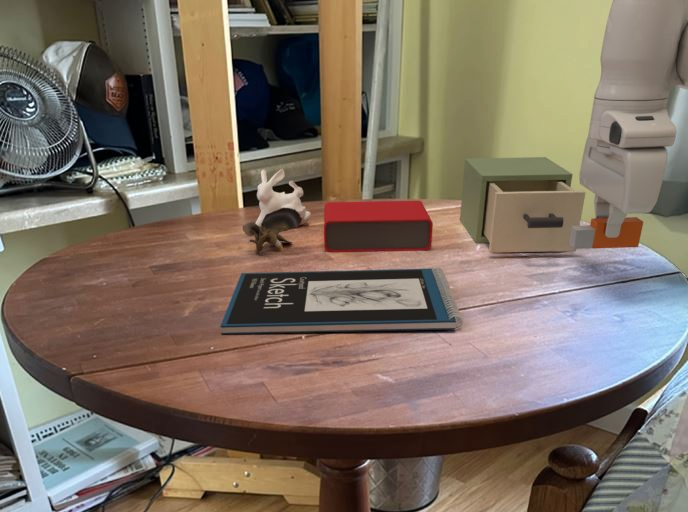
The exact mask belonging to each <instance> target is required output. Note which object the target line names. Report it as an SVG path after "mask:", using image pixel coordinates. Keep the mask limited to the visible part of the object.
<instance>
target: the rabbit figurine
mask: <svg viewBox="0 0 688 512" xmlns="http://www.w3.org/2000/svg"><path fill="white" fill-rule="evenodd" d="M260 171H261V172H260V178H261V183H259V184H258V185H257V192H256V198H257V200H258V201H259V203H258V207H259V209H260V213H259V215H258V218H257V219H256V221H255V222H254V223H255V224H257V225H258V226H260V227H261V225H262V224H261V223H262V221H263V219H264V217H265V215H266V214H268V213H272V212H273V211H276V210H279V209H281V208H284V207H285V208H290V209H295V210H296V211H297V212H298V213H299V214H300V217H301V218H302V220H301V223H300V224H299V225H300V226H303V225H304V224H306V223H308V222H309V221H310V219H311V216H312V213H311V212H310V211H309V210H307V208H306V206H305V205H303V204H302V200H301V197H303V196H304V190H303V188H302V187H301V186H298V185H297V184H296V183H295V182H294V181H293V180H290V181H289V182H288V185H289V186H290V187H292V188H293V191H292V192H291V193H286V191H282V192H277V191H274V190H273V186H274V185H276V184H277V183H279V182H280V181H282V180H283V179H284V178H285V175H286V174H285V170H284V169H283V168H281V169H279V170H278V171H277V172H275V173H274V174H273V175H272V176H271V178H270V179H269V180H268V177H267V174H268V172H267V170H266V169H262V170H260Z"/></svg>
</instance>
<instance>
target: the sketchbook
mask: <svg viewBox="0 0 688 512" xmlns="http://www.w3.org/2000/svg"><path fill="white" fill-rule="evenodd" d="M463 324H464V319H463V317H462V314H461V312H460V310H459V307H458V305H457V302H456V299H455V297H454V294H453V292H452V290H451V287H450V285H449V281H448V280H447V277H446V275H445V273H444V270H443V269H442V268H441V267H438V266H435V267H433V268H431V267H430V268H399V269H395V268H394V269H393V268H392V269H357V270H354V269H353V270H351V269H349V270H313V271H311V270H310V271H277V272H275V271H274V272H273V271H271V272H270V271H269V272H241V273H240V276H239V279H238V281H237V283H236V286H235V288H234V290H233V293H232V296H231V298H230V301H229V304H228V306H227V308H226V311H225V314H224V316H223V319H222V321H221V323H220V326H219V327H220V333H221V335H248V334H249V335H251V334H253V335H254V334H258V335H259V334H296V333H297V334H298V333H299V334H303V333H305V334H306V333H342V332H345V333H347V332H350V333H351V332H387V331H389V332H390V331H391V332H392V331H433V330H435V331H437V330H441V331H443V330H454V331H455V330H459V329H460V328H461V327H463Z"/></svg>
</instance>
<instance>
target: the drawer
mask: <svg viewBox="0 0 688 512" xmlns="http://www.w3.org/2000/svg"><path fill="white" fill-rule="evenodd" d="M586 193H587V192H586V191H585V190H575V188H572V186H571V187H569V186H568V185H566V184H565V183H563V182H562V181H561V180H532V181H487V185H486V195H485V205H484V215H483V225H482V232H483V234H484V235H485V236H486V238H487V239H488V241H489V242H490V243H489V245H488V247H489V248H488V251H489V253H535V252H536V253H537V252H542V253H543V252H545V253H547V252H575V251H576V250H577V249H573V248H572V247H571V246H570V245H569V241H570V235H571V228H572V226H581V221H582V215H583V210H584V203H585V199H586Z"/></svg>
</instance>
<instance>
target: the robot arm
mask: <svg viewBox="0 0 688 512" xmlns="http://www.w3.org/2000/svg"><path fill="white" fill-rule="evenodd" d="M602 39H603V40H602V46H601V51H600V58H599V59H600V60H599V61H600V78H599V81H598V85H597V87H596V90H595V92H594V95H593V102H592V108H591V114H590V120H589V128H588V133H587V137H586V139H585V140H586V141H585V144H584V149H583V154H582V158H581V163H580V169H579V176H578V177H579V184H580V185H581V186H582V187H583V188H585V189H587V190H588V191H590V192H592V194H594V199H593V207H594V216H595V217H594V219H595V218H608V221H607V222H605V224H604V230H603V234H604V235H605V236H607V237H608V238H615V237H618V236H619V234H620V229H621V224H622V223H623V221H624V219H625V218H627V216H628V214H629V215H630V214H631V215H632V214H633V215H634V214H636V215H639V214H650V213H651V211H653V209H654V207H655V206H656V204H657V202H658V199H659V195H660V192H661V189H662V185H663V181H664V177H665V172H666V169H667V164H668V163H667V162H668V149H667V147H672V146H673V145H674V144H675V141H676V136H677V127H676V125H675V124H674V122H673V120H672V119H671V117H670V115H669V111H668V109H667V105H668V99H669V95H670V92H671V90H672V89H673V88H674V87H678V88H680V89H683V90H687V91H688V0H612V2H611V5H610V9H609V12H608V15H607V20H606V24H605V30H604V35H603V38H602Z"/></svg>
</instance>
